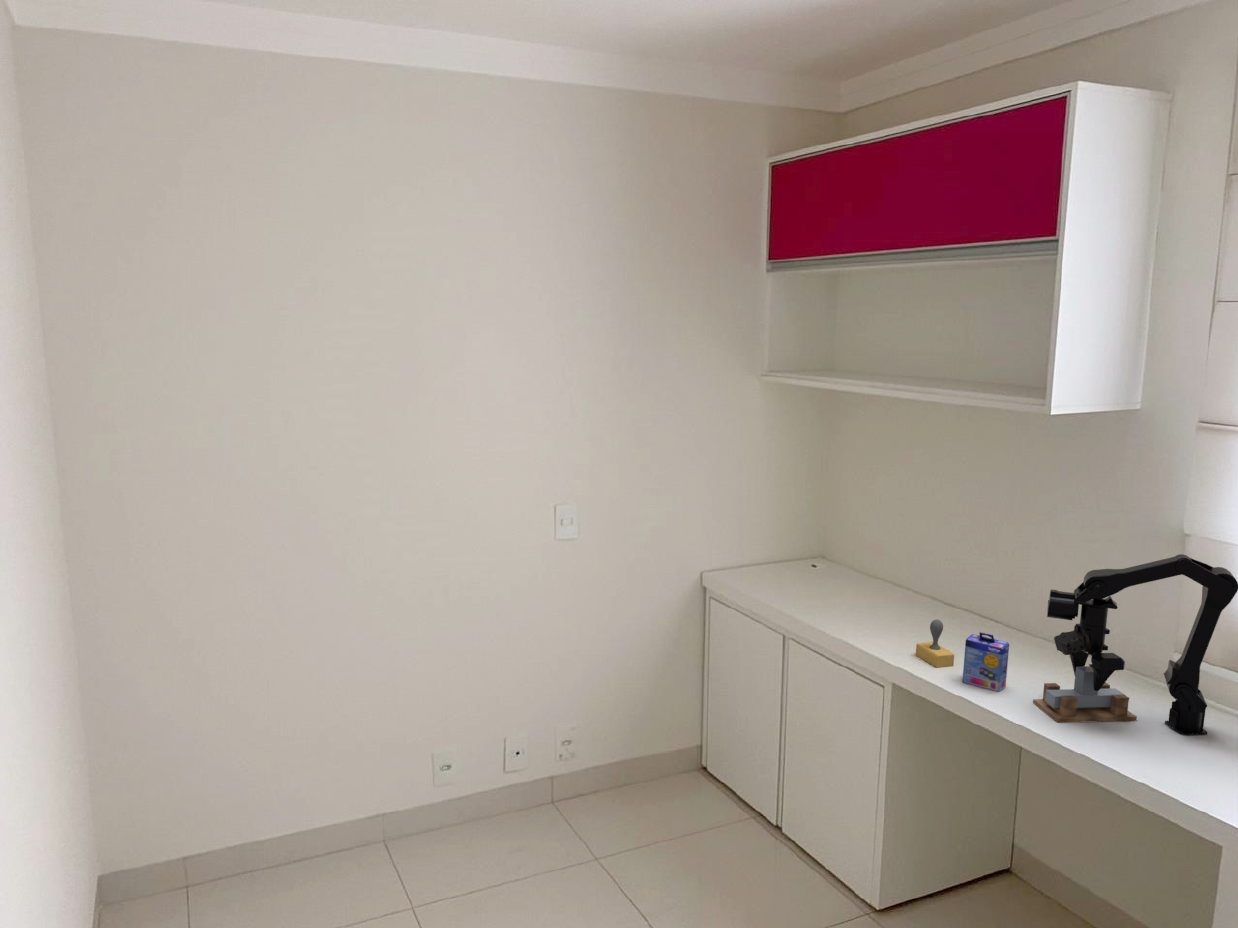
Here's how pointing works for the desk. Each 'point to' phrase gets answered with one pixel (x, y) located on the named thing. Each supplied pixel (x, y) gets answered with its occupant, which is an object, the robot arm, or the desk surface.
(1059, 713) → the cradle
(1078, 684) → the bar
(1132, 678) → the desk surface
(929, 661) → the rubber stamp
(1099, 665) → the robot arm
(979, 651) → the ink cartridge box
